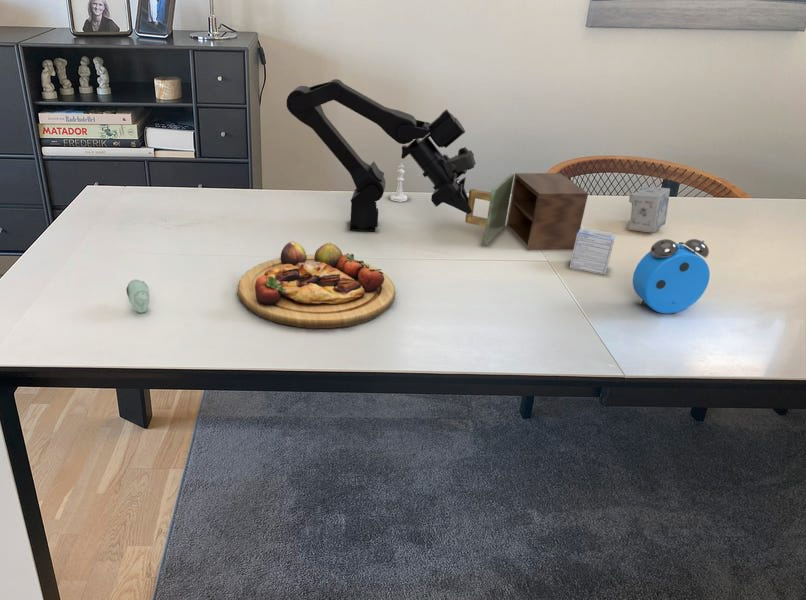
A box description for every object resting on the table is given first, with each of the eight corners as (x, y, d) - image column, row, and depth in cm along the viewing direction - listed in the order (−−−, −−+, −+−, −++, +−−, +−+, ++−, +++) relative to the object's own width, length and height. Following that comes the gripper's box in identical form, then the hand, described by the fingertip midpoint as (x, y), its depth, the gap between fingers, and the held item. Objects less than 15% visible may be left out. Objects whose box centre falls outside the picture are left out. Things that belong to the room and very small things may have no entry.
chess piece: (407, 202, 196) (411, 166, 191) (390, 201, 196) (393, 165, 191) (406, 196, 200) (410, 161, 195) (389, 195, 200) (392, 160, 195)
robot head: (152, 321, 131) (149, 288, 128) (130, 323, 130) (126, 290, 127) (149, 302, 138) (146, 270, 134) (128, 304, 137) (124, 272, 133)
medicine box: (607, 268, 161) (616, 232, 157) (604, 275, 158) (614, 239, 153) (572, 261, 164) (580, 226, 159) (568, 268, 160) (577, 232, 156)
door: (460, 240, 172) (467, 185, 165) (480, 221, 184) (488, 169, 177) (486, 246, 170) (494, 190, 163) (505, 226, 182) (514, 174, 175)
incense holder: (633, 219, 191) (643, 182, 185) (664, 227, 186) (675, 189, 181) (620, 229, 184) (630, 190, 179) (652, 237, 180) (663, 197, 174)
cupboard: (528, 250, 169) (539, 193, 161) (505, 226, 182) (515, 173, 175) (575, 249, 170) (588, 193, 163) (549, 226, 184) (560, 173, 176)
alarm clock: (683, 301, 148) (705, 234, 140) (699, 315, 142) (723, 245, 135) (624, 302, 146) (643, 234, 138) (638, 316, 141) (659, 246, 133)
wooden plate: (275, 346, 125) (275, 304, 121) (216, 276, 149) (214, 240, 145) (425, 313, 138) (429, 274, 134) (348, 254, 162) (350, 220, 158)
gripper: (451, 148, 155) (494, 203, 158) (463, 130, 170) (501, 180, 173) (413, 179, 160) (455, 231, 164) (427, 159, 176) (465, 207, 179)
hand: (470, 211), depth 170 cm, fingers closed on door, 2 cm apart
